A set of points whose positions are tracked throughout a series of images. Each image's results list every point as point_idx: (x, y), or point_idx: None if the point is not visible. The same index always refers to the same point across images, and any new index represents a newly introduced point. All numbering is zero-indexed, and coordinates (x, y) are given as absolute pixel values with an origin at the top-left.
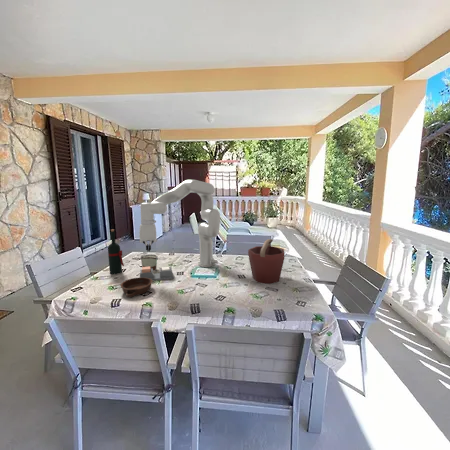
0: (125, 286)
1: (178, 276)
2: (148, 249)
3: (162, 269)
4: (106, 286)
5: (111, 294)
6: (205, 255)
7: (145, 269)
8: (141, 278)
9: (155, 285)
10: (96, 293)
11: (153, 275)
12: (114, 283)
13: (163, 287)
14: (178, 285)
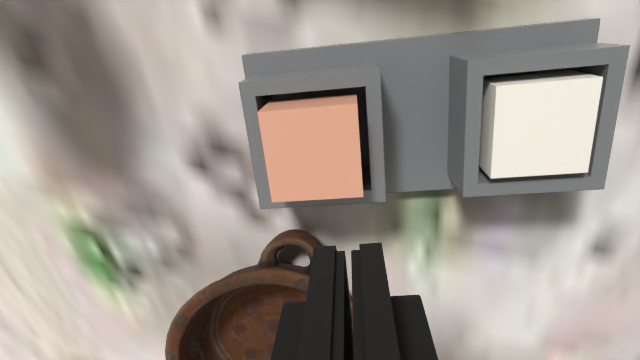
0: (199, 326)
1: (628, 135)
2: (344, 270)
3: (500, 165)
4: (49, 226)
5: (144, 347)
6: None
7: (309, 198)
8: (293, 287)
9: (403, 284)
10: (47, 316)
11: (383, 101)
12: (80, 182)
13: (460, 326)
14: (573, 319)
